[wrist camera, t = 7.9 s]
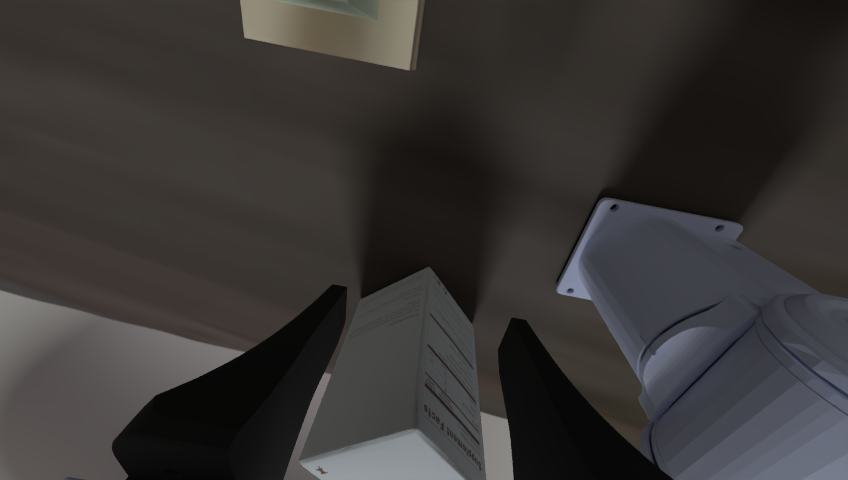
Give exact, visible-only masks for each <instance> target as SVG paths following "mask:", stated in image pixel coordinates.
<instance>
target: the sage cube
mask: <svg viewBox="0 0 848 480" xmlns="http://www.w3.org/2000/svg"><path fill="white" fill-rule="evenodd" d="M276 1H279V2H284V3H289V4H294V5H299V6H304V7H310V8H315V9H320V10H325V11H330V12H335V13H341V14H346V15H351V16H356V17H361V18H366V19H372V20H378V6H379V0H276Z"/></svg>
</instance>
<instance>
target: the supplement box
mask: <svg viewBox="0 0 848 480" xmlns="http://www.w3.org/2000/svg"><path fill="white" fill-rule="evenodd" d="M299 462H300V463H301V464H302V465H303V466H304V467H305V468H306V469H308V470H309V471H310V472H311V473H312V474H314V475H315V476H316V477H318V478H320V479H321V480H486V473H485V461H484V449H483V438H482V428H481V416H480V406H479V392H478V381H477V368H476V356H475V343H474V331H473V325H472V324H471V322H470V321H469V320H468V318H467V317H466V315H465V314H464V313H463V311H462V310H461V308H460V307H459V306H458V304H457V303H456V302H455V300H454V299H453V297H452V296H451V295H450V293H449V292H448V291H447V289H446V288H445V286H444V285H443V284H442V282H441V281H440V280H439V278H438V277H437V276H436V274H435V273H434V272H433V270H432V269H431V268H430V267H427V268H425V269H423V270H421V271H419V272H416V273H414V274H412V275H410V276H408V277H406V278H404V279H402V280H400V281H398V282H396V283H394V284H392V285H390V286H387V287H385V288H383V289H381V290H379V291H377V292H375V293H373V294H371V295H369V296H367V297H365V298H363V299H361V300H360V302H359V304H358V307H357V310H356V312H355V315H354V317H353V320H352V323H351V325H350V328H349V331H348V333H347V336H346V338H345V341H344V344H343V346H342V349H341V351H340V354H339V356H338V359H337V362H336V364H335V367H334V370H333V372H332V375H331V378H330V380H329V383H328V385H327V388H326V391H325V393H324V396H323V398H322V401H321V404H320V406H319V409H318V412H317V414H316V417H315V420H314V422H313V425H312V427H311V430H310V432H309V435H308V438H307V440H306V443H305V445H304V448H303V451H302V453H301V456H300V459H299Z"/></svg>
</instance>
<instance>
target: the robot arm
mask: <svg viewBox="0 0 848 480" xmlns="http://www.w3.org/2000/svg"><path fill="white" fill-rule="evenodd" d="M614 204H616V207H615V208H614V209H610V208H611V206H612V205H614ZM717 226H719V227H718V228H716V227H717ZM715 228H716V229H715ZM742 231H743V226H742V225H740V224H738V223H736V222H732V221H727V220H722V219H717V218H711V217H706V216H701V215H696V214H691V213H686V212H681V211H675V210H670V209H665V208H660V207H655V206H650V205H644V204H639V203H634V202H629V201H624V200H619V199H614V198H608V197H605V198H602V199H601V200H599V202H598V203H597V205H596V207H595V209H594V211H593V213H592V215H591V217H590V219H589V221H588V223H587V225H586V227H585V229H584V231H583V233H582V235H581V237H580V239H579V241H578V243H577V245H576V247H575V249H574V251H573V253H572V255H571V257H570V259H569V261H568V263H567V265H566V267H565V269H564V271H563V273H562V275H561V277H560V279H559V281H558V283H557V285H556V290H557V292H558V293H559V294H562V295H568V296H573V297H578V298H583V299H589V300H592V301H593V303H594V304H595V306H596V308H597V309H598V311H599V313H600V314H601V316H602V318H603V319H604V321H605V323H606V325H607V326H608V328H609V330H610V331H611V333H612V335H613V336H614V338H615V340H616V341H617V343H618V345H619V347H620V348H621V350H622V352H623V353H624V355H625V357H626V358H627V360H628V362H629V363H630V365H631V367H632V368H633V370H634V372H635V374H636V375H637V377H638V379H639V380H640V382H641V384H642V393H641V394H640V396H639V397H638V400H639V402H640V403H641V405H642V407H643V409H644V411H645V412H646V414H647V416H648V418H649V420H650V422H649V423H648V424H647V425H646V426H645V428H644V430H643V432H642V434H641V441H640V448H641V453H640V452H639V451H638V450H637V449H636V448H635V447H634V446H632V445H631V444H630V443H629V442H628V441H627V440H626V439H625V438H624V437H622V436H621V435H620V434H619V433H618V432H617V431H616V430H615V429H614V428H613V427H612V426H611V425H610V424H609V423H608V422H607V421H606V420H605V419H604V418H603V417H602V416H601V415H600V414H599V413H598V412H597V411H596V410H595V409H594V408H593V407H592V406H591V405H590V404H589V403H588V401H587V400H586V399H585V398H584V397H583V396H582V395H581V394H580V393H579V391H578V390H577V389H576V388H575V387H574V386H573V384H572V383H571V382H570V381H569V379H568V378H567V377H566V376H565V374H564V373H563V372H562V371H561V369H560V368H559V367H558V365H557V364H556V363H555V361H554V360H553V359H552V357H551V356H550V354H549V353H548V352H547V350H546V349H545V347H544V346H543V344H542V343H541V342H540V340H539V339H538V337H537V336H536V334H535V333H534V331H533V330H532V328H531V327H530V325H529V324H528V323H527V321H526V320H522V319H517V318H511V321H510V323H509V325H508V328H507V330H506V332H505V334H504V337H503V339H502V341H501V344H500V346H499V348H498V361H499V374H500V380H501V386H502V391H503V397H504V402H505V408H506V413H507V419H508V423H509V430H510V438H511V449H512V460H513V474H514V480H848V299H845V298H841V297H837V296H832V295H826V294H821V293H819V292H818V291H816V290H815V289H813V288H811V287H810V286H808V285H807V284H805V283H803V282H802V281H800V280H798V279H797V278H795V277H794V276H792V275H790V274H789V273H787V272H786V271H784V270H782V269H781V268H779V267H778V266H776V265H774V264H773V263H771V262H769V261H768V260H766V259H765V258H763V257H761V256H760V255H758V254H757V253H755V252H753V251H752V250H750V249H748V248H747V247H745V246H744V245H742V244H740V243H739V242H737V241H736V239H737V237H738V236H739V235H740V234H741V232H742ZM569 288H572V289H571V290H568V289H569ZM346 300H347V287H344V286H339V285H334V284H333V285H331V286H330V287H329V288H328V289H327V290H326V291H325V292H324V293H323V294H322V295H321V296H320V297H319V298H318V299H316V300H315V301H314V302H313V303H312V304H311V305H310V306H309V307H307V308H306V309H305V310H304V311H303V312H302V313H300V314H299V315H298V316H297V317H296V318H294V319H293V320H292V321H291V322H289V323H288V324H287V325H285V326H284V327H283V328H281V329H280V330H279V331H277V332H276V333H275V334H273V335H272V336H270V337H269V338H267V339H266V340H264V341H263V342H261V343H260V344H258V345H257V346H255V347H254V348H252V349H250V350H249V351H247V352H245V353H244V354H242V355H240V356H239V357H237V358H235V359H233V360H232V361H230V362H228V363H226V364H224V365H222V366H220V367H218V368H216V369H214V370H212V371H210V372H208V373H206V374H204V375H202V376H200V377H198V378H196V379H194V380H191V381H189V382H187V383H184V384H182V385H180V386H178V387H175V388H173V389H170V390H168V391H165V392H163V393H160V394H158V395H156V396H155V397H154V398H153V399H152V400H151V401H150V402H149V403H148V404H146V406H144V407H143V409H142V410H141V411H140V412H139V413H138V414H137V415H136V416H135V417H134V418H133V419H132V421H131V422H130V423H129V424H128V425H127V426H126V427H125V429H124V430H123V431H122V432H121V433H120V434H119V435H118V436H117V437H116V439H115V440H114V441H113V444H112V451H113V453H114V455H115V457H116V459H117V460H118V462H119V463H120V464H121V466H122V467H123V469H124V470H125V472H126V473H127V474H128V478H127V479H126V480H283V479H284V476H285V473H286V470H287V467H288V463H289V461H290V458H291V455H292V452H293V449H294V446H295V444H296V441H297V438H298V435H299V432H300V430H301V427H302V423H303V421H304V418H305V416H306V413H307V410H308V408H309V405H310V402H311V400H312V397H313V395H314V393H315V391H316V388H317V386H318V384H319V382H320V380H321V378H322V376H323V374H324V372H325V370H326V367H327V365H328V363H329V361H330V359H331V357H332V355H333V353H334V351H335V348H336V346H337V344H338V342H339V339H340V336H341V333H342V330H343V327H344V324H345V318H346ZM63 480H83V479H77V478H72V477H68V478H65V479H63Z"/></svg>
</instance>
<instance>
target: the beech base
mask: <svg viewBox="0 0 848 480" xmlns="http://www.w3.org/2000/svg"><path fill="white" fill-rule="evenodd" d="M240 1H241V10H242V19H243V29H244V38H249V39H254V40H259V41H264V42H269V43H274V44H279V45H284V46H289V47H294V48H299V49H304V50H309V51H314V52H319V53H324V54H329V55H334V56H339V57H344V58H349V59H354V60H360V61H365V62H370V63H375V64H380V65H385V66H390V67H395V68H400V69H405V70H416V65H417V58H418V50H419V43H420V36H421V29H422V21H423V14H424V7H425V0H379V6H378V20H372V19H366V18H361V17H356V16H351V15H346V14H341V13H335V12H330V11H325V10H320V9H315V8H310V7H304V6H299V5H294V4H289V3H284V2H279V1H276V0H240Z"/></svg>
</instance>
